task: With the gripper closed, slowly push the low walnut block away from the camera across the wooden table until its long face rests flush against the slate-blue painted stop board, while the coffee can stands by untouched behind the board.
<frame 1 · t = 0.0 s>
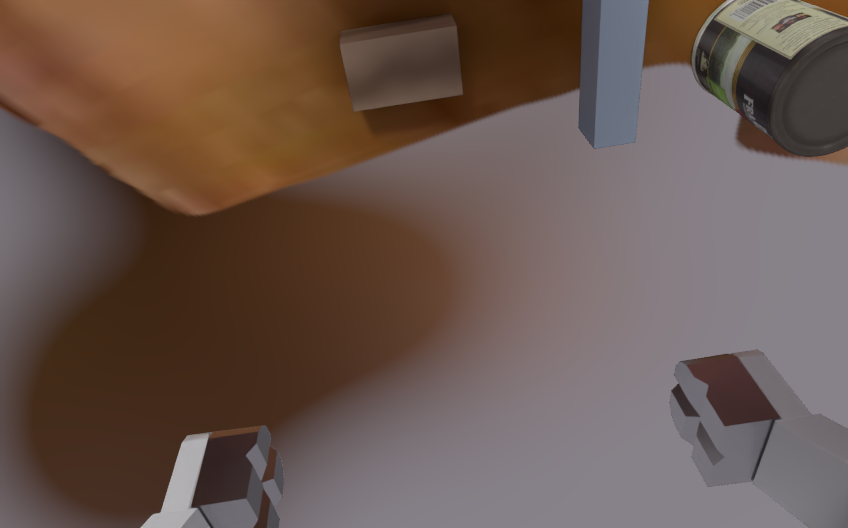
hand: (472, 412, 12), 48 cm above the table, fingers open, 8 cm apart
coffee can: (742, 44, 57), on the table
walnut block: (400, 54, 55), on the table
stop board: (603, 24, 55), on the table
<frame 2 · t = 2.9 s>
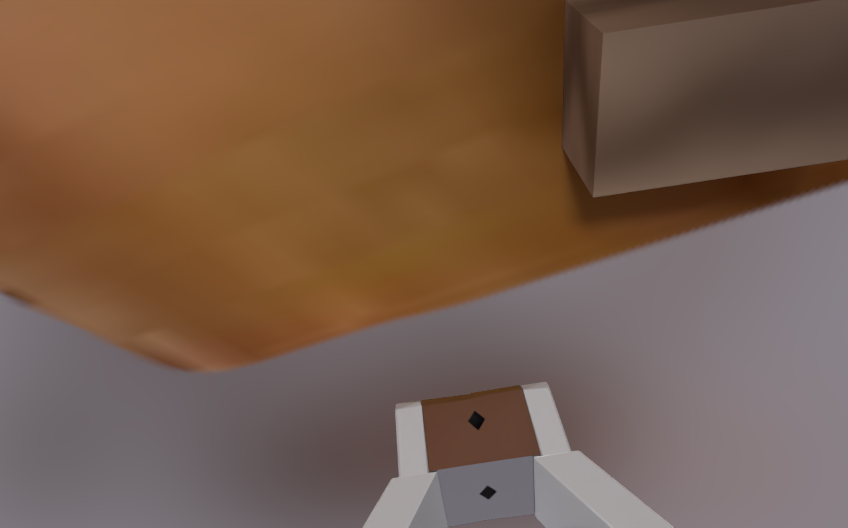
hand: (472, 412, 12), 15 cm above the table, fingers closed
walnut block: (684, 58, 24), on the table
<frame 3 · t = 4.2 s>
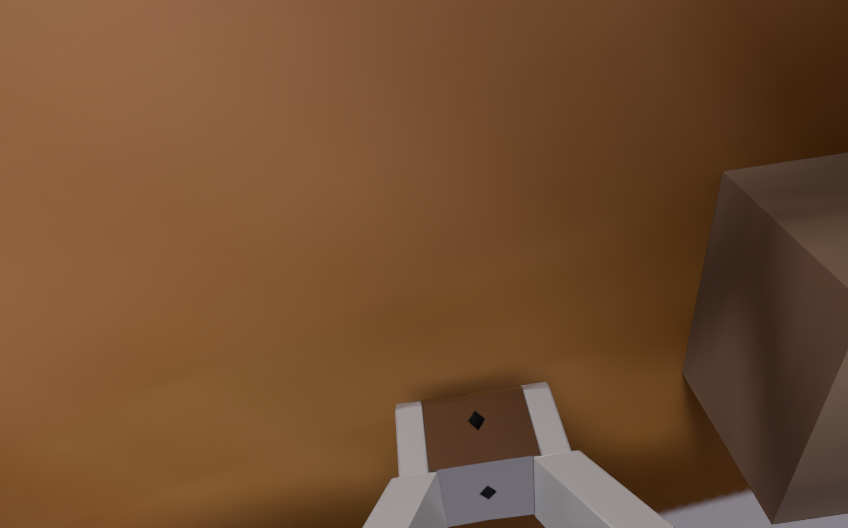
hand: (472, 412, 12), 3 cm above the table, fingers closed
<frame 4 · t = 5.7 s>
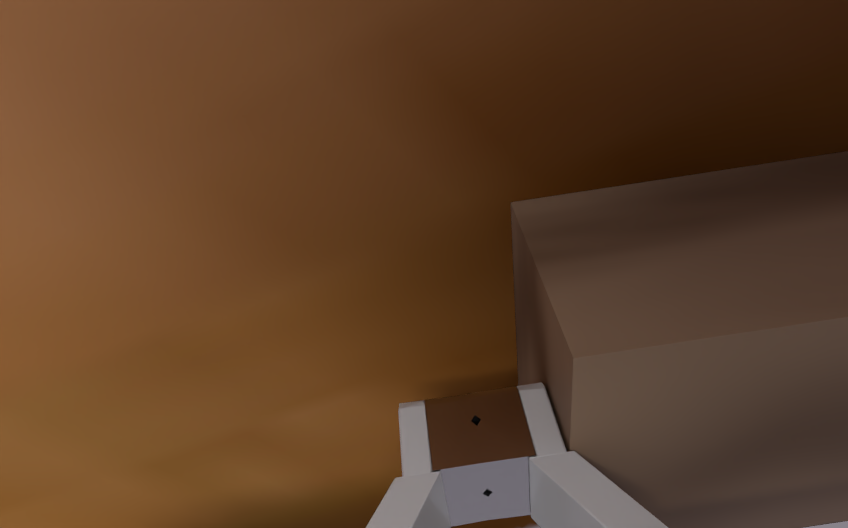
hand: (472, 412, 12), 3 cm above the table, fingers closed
walnut block: (724, 278, 14), on the table, touching gripper
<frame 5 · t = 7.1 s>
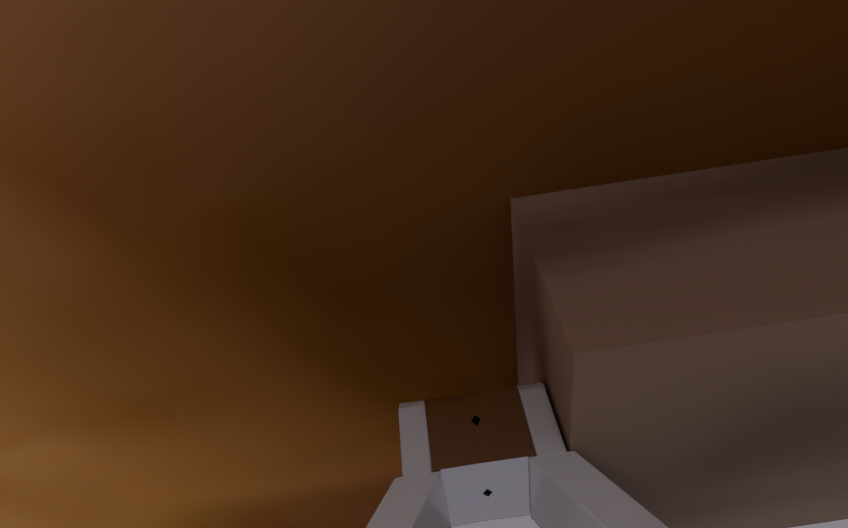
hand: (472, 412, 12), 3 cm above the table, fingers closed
walnut block: (725, 275, 14), on the table, touching gripper
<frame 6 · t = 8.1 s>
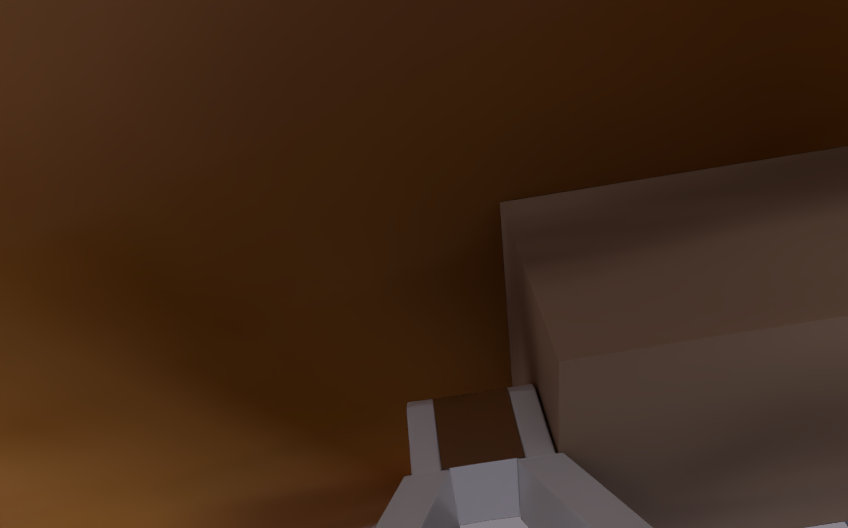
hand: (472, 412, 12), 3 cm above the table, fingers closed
walnut block: (718, 277, 14), on the table, touching gripper, stop board
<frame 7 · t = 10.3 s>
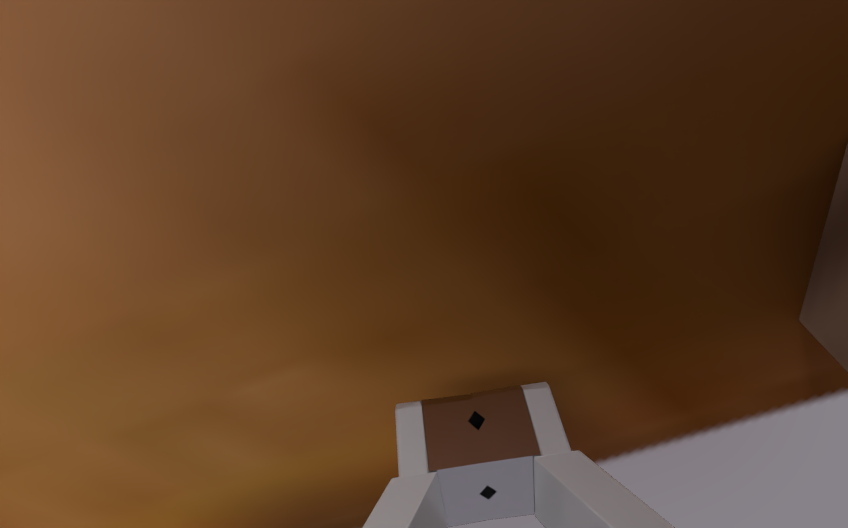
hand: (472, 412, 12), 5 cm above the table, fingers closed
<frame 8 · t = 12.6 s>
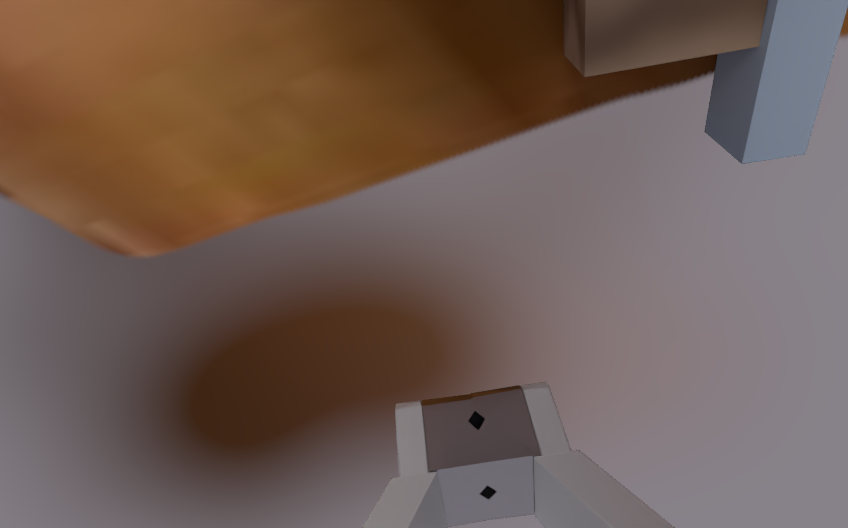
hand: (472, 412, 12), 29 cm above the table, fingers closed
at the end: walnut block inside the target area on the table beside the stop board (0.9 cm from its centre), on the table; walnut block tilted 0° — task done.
